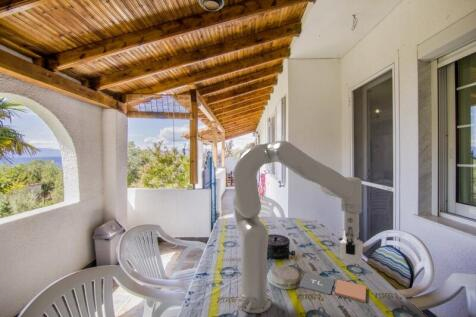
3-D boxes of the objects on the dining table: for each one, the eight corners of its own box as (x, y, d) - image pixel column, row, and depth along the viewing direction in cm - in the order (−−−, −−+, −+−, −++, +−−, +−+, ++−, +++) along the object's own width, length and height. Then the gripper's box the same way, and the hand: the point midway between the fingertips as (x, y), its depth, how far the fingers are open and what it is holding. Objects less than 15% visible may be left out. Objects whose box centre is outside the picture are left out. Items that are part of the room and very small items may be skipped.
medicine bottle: (344, 253, 105) (344, 225, 104) (362, 258, 100) (362, 229, 100) (339, 259, 99) (339, 230, 99) (358, 264, 95) (358, 233, 94)
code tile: (330, 294, 98) (330, 294, 98) (298, 286, 104) (298, 285, 104) (334, 280, 109) (334, 279, 109) (305, 273, 115) (305, 272, 115)
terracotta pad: (365, 302, 92) (365, 300, 92) (334, 294, 98) (334, 292, 98) (366, 288, 102) (366, 286, 102) (338, 281, 107) (338, 279, 107)
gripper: (360, 213, 90) (360, 260, 90) (362, 204, 105) (362, 244, 105) (338, 211, 93) (338, 256, 94) (343, 202, 108) (343, 241, 109)
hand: (351, 249), depth 99 cm, fingers closed on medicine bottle, 7 cm apart
